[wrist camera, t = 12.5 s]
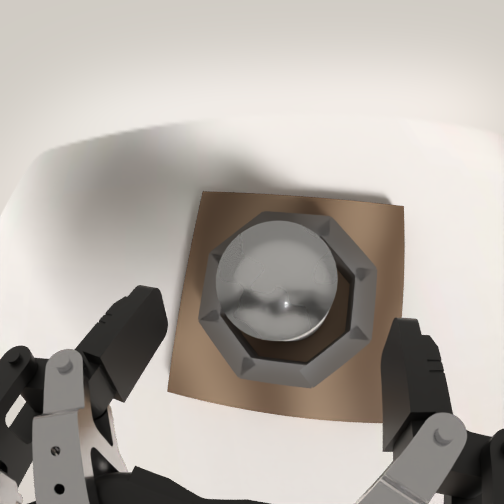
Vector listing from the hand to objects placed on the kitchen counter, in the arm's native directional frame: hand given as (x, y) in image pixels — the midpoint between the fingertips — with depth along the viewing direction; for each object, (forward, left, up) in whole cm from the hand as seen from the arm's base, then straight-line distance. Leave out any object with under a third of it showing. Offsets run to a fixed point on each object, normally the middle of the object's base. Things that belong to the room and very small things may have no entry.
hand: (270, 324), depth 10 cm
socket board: (0, -2, -10) cm, 10 cm away
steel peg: (0, -2, -9) cm, 9 cm away
